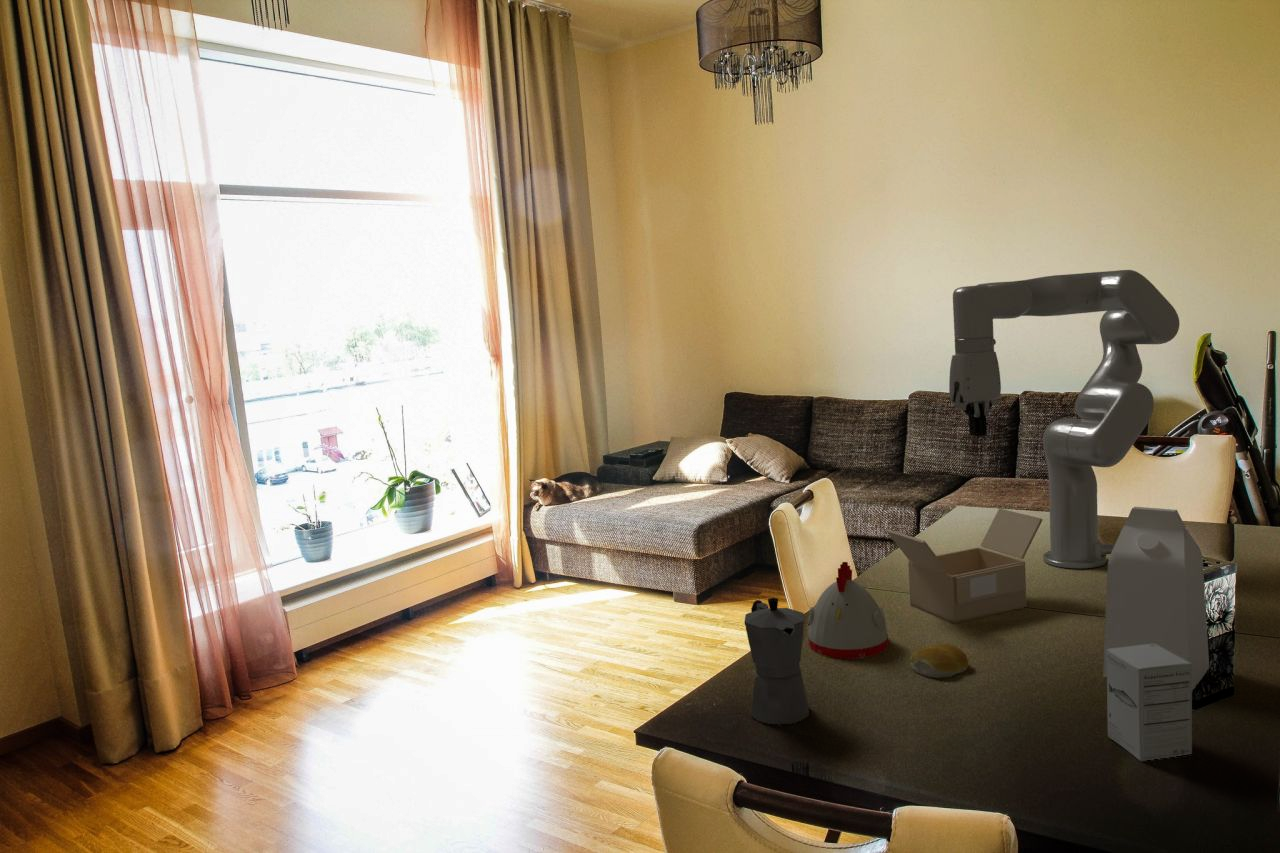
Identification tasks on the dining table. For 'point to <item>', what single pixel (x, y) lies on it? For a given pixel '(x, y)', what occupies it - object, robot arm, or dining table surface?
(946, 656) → the bread roll
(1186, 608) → the milk
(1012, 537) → the flap
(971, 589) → the carton
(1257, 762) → the dining table surface
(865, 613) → the kitchen timer
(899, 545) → the flap
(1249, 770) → the dining table surface
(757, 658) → the coffeepot
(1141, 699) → the supplement box
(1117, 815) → the dining table surface
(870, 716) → the dining table surface
